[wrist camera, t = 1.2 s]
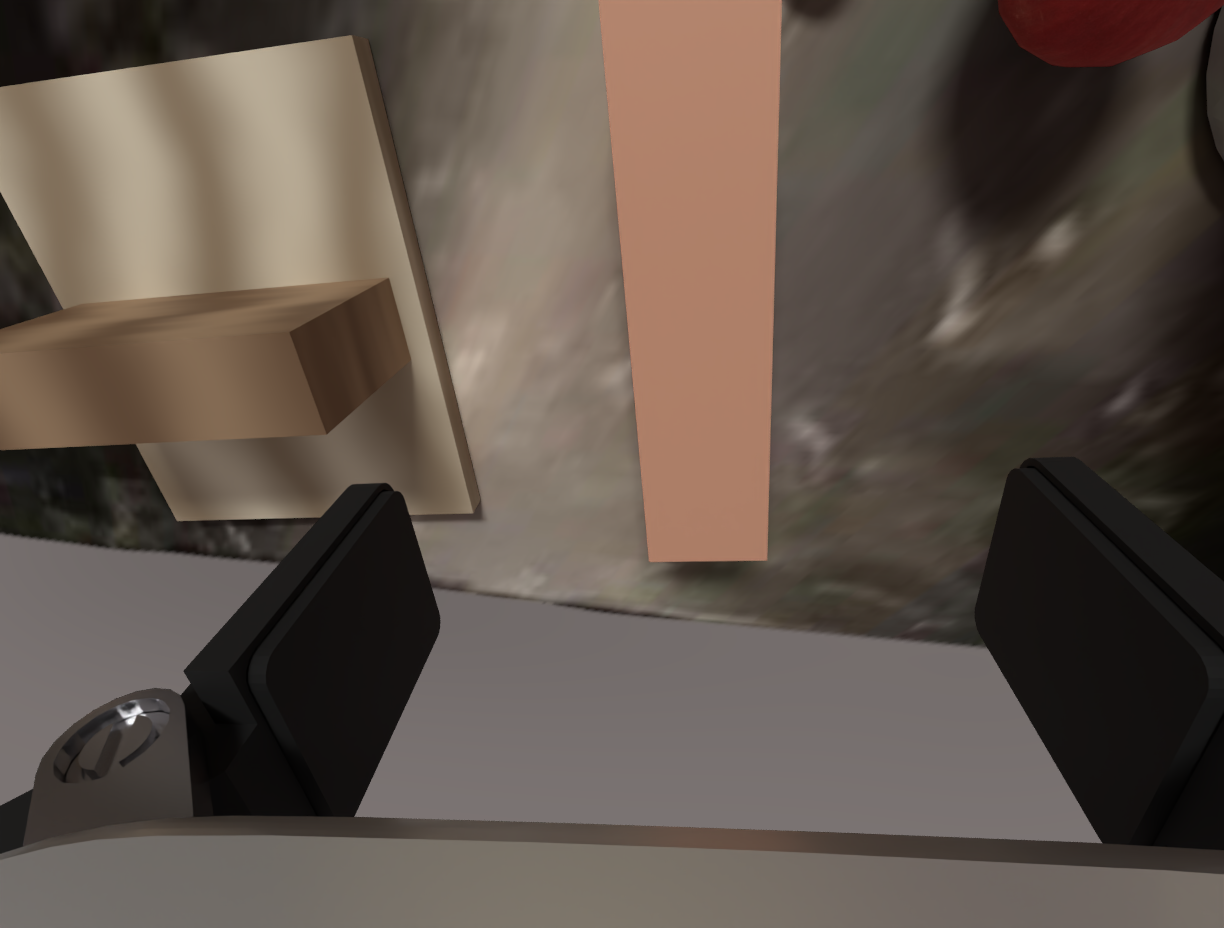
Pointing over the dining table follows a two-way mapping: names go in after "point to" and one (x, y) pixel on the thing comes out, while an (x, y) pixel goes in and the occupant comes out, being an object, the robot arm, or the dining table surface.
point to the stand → (230, 284)
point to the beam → (698, 260)
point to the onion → (1100, 27)
